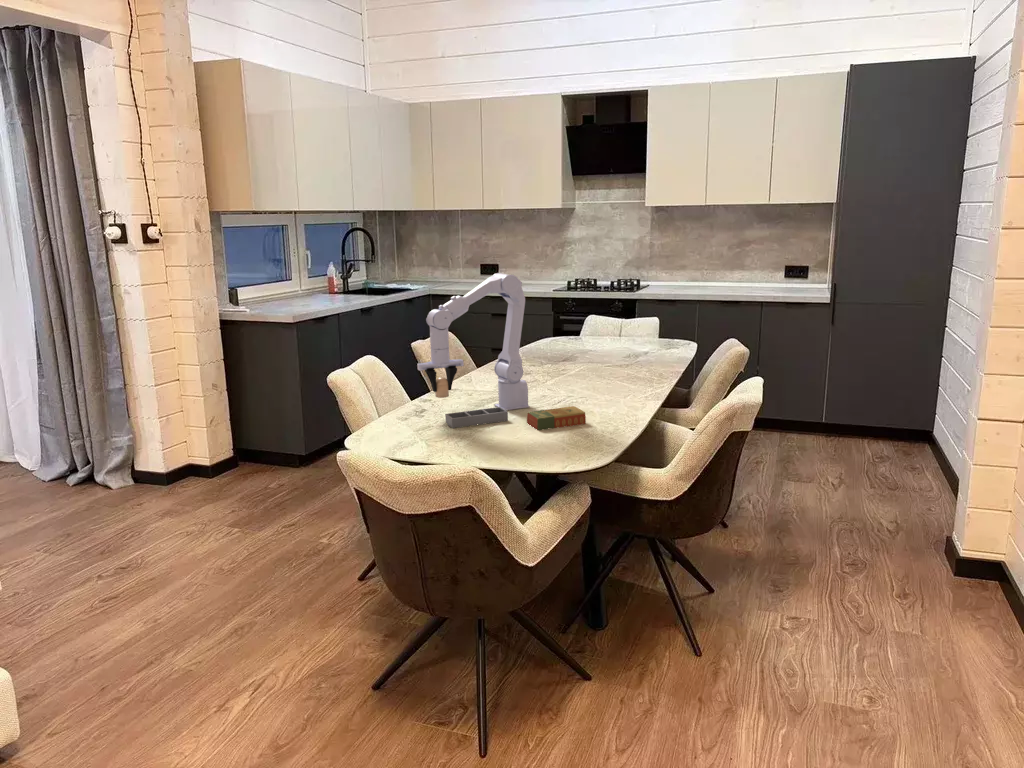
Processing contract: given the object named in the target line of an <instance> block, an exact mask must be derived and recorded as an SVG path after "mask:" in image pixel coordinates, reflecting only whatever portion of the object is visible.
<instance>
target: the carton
mask: <svg viewBox="0 0 1024 768" xmlns="http://www.w3.org/2000/svg"><path fill="white" fill-rule="evenodd" d="M586 418H587V417H586V412H585V411H584V410H583V409H580V408H578V407H577V406H575V405H572V406H571V405H570V406H563V407H557V408H549V409H541V410H536V411H535V410H534V411H527V414H526V424H527V423H528V424H529V426H530V425H531V426H530V427H531V428H533V427H534V428H533V429H534V430H536V429H537V430H536V431H543V430H542V429H544V430H549V429H548V428H552V429H558V428H557V427H559V428H565V427H564V426H567V427H572V426H573V425H574V426H580V425H587V423H586ZM528 424H527V425H528ZM574 426H573V427H574Z"/></svg>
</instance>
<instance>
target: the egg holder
mask: <svg viewBox="0 0 1024 768" xmlns="http://www.w3.org/2000/svg"><path fill="white" fill-rule="evenodd" d="M501 421H503V422H508V421H509V410H504V409H503V408H501V407H496V406H495V407H489V408H487V407H486V408H481V409H473V410H466V411H457V412H449V413H445V424H446V423H447V424H448V425H447V424H446V425H447V426H448V427H449V428H451V427H452V428H451V429H456V428H455V427H459V428H463V427H462V426H467V427H470V426H469V425H474V426H478V425H477V424H481V425H486V424H485V423H488V424H494V423H493V422H496V423H502V422H501Z"/></svg>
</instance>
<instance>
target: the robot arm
mask: <svg viewBox="0 0 1024 768" xmlns="http://www.w3.org/2000/svg"><path fill="white" fill-rule="evenodd" d="M522 286H523V282H522V281H521V279H519V278H518V276H516V275H514V274H508V273H501V272H497V273H494V274H493V275H491V276H489V277H487V278H486V279H485V280H483V282H481V283H479V284H478V285H477V286H476V287H474V288H473V289H471V290H469V292H467V293H466V294H465V295H463V296H462V295H453V296H451V297H450V300H448V301H447V302H445V303H444V304H440V305H438V308H434V309H432V310H431V311H429V312H428V314H427V317H426V318H425V321H426V322H425V323H426V324H427V326H429V339H430V340H429V342H430V361H426V362H420V363H416V364H417V365H416V366H417V367H416V368H417V370H418V371H419V372H420V371H421V372H422V371H424V372H425V374H426V376H427V378H428V379H429V382H430V384H431V385H430V386H431V389H432V392H434V393H435V392H437V387H436V380H437V371H436V369H445V374H446V379H447V381H448V389H449V391H452V386H453V382H454V378H455V376H456V374H457V373H458V368H457V367H464V366H465V365H464V364H465V363H464V360H463V359H461V358H459V359H450V341H449V339H450V337H449V327H450V325H451V324H452V322H453V321H455V320H456V319H458V318H460V317H461V316H463V315H464V314H465V313H467V312H468V311H469V307H470V305H472V304H474V303H476V302H477V301H479V300H481V299H482V298H485V297H486V296H487V295H489V294H498V295H500V296H501V297H502V298H503V299H504V300H505V301H506V302H507V310H506V319H505V326H504V335H503V344H502V351H501V352H500V353H499V354H498V356H497V361H496V362H495V365H494V369H493V370H494V373H495V375H496V376H497V387H498V388H497V389H498V403H495V404H494V406H495V407H501V408H503V409H504V410H506V411H509V410H510V411H511V410H519V409H526V408H530V406H529V387H528V386H529V385H528V382H527V381H526V380H525V379H522V378H523V375H524V368H523V359H522V356H521V354H520V347H521V346H520V345H521V338H522V330H523V323H524V315H525V314H524V313H525V306H526V296H525V293H524V290H523V288H522Z"/></svg>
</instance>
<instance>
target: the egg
mask: <svg viewBox="0 0 1024 768" xmlns="http://www.w3.org/2000/svg"><path fill="white" fill-rule="evenodd" d="M436 387H437V392H434V393H435V398H438V399H444V398H448V397H449V396H450V393H449V391H450V390H449V389H448V381H447V377H442V376H440V377H438V378H436Z"/></svg>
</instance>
